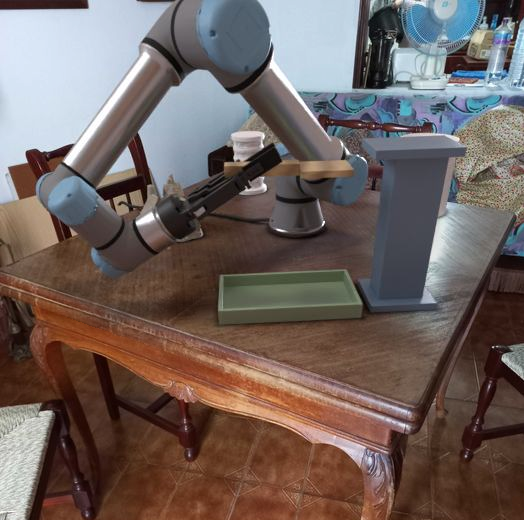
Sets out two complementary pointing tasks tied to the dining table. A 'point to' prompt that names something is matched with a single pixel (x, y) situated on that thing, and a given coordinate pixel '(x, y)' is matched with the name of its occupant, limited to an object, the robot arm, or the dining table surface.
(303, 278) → the tray
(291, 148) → the robot arm
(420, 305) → the stand
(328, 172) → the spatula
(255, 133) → the decorative container
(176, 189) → the ceramic cottage
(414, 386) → the dining table surface
